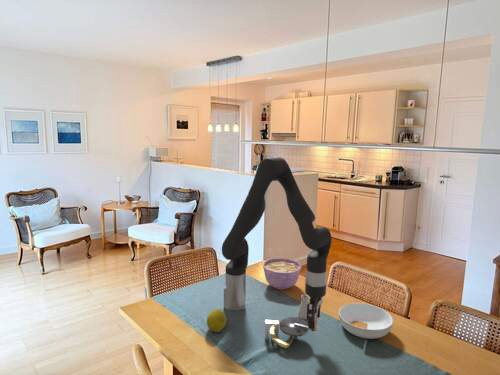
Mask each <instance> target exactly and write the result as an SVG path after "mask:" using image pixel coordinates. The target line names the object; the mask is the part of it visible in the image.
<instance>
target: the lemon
mask: <svg viewBox="0 0 500 375" xmlns="http://www.w3.org/2000/svg"><path fill="white" fill-rule="evenodd" d="M206 325H207V327H208V329H209V330H210V331H212V332H213V333H219V332H221V331H223V330H224V329H225V326H226V325H227V316H226V314H225V312H224V311H223V310H221V309H218V308H217V309H213V310H211V311H210V313H208V315H207V318H206Z"/></svg>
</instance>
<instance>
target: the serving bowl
mask: <svg viewBox="0 0 500 375" xmlns="http://www.w3.org/2000/svg"><path fill="white" fill-rule="evenodd" d="M338 318H339V321H340V323H341V325H342V327H343V328H344V329H345V330H346V331H347V332H348V333H350V334H352V335H353V336H357V337H358V338H362V339H369V340H370V339H372V340H373V339H380V338H383V337H385V336H386V335H388V333H390V331H391V329H392V328H393V324H394V319H393V317H392V315H391V314H390V313H389V312H387V310H385V309H383V308H381V307H379V306H376V305H374V304H369V303H363V302H352V303H347V304H345V305H343V306H341V307H340V308H339V310H338ZM353 322H360V323H362V324H363V323H364V324H367V325H366V328H365V327H360V326H356V325H354V324H352V323H353Z"/></svg>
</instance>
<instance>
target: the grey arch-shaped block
mask: <svg viewBox="0 0 500 375" xmlns="http://www.w3.org/2000/svg"><path fill="white" fill-rule="evenodd" d="M264 322H265V323H264V340H266V341H267V340H268V341H269V335H270V329H269V328H270V327H271V326H275V330H274V334H275V336H276V337H277V338H278V339H279V334H280V333H279V331H280V322H279V320H277V319H276V320H274V319H265V320H264Z"/></svg>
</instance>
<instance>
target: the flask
mask: <svg viewBox="0 0 500 375" xmlns="http://www.w3.org/2000/svg"><path fill="white" fill-rule="evenodd" d="M300 297H301V302H300V306H299V307H298V310H297V313H296V316H297V318H300V319H303V320H307V318H306V317H307V304H308V301H309V299H310V298H309V296H308V295H307V294H301V295H300ZM310 316H311V314H310Z"/></svg>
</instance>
